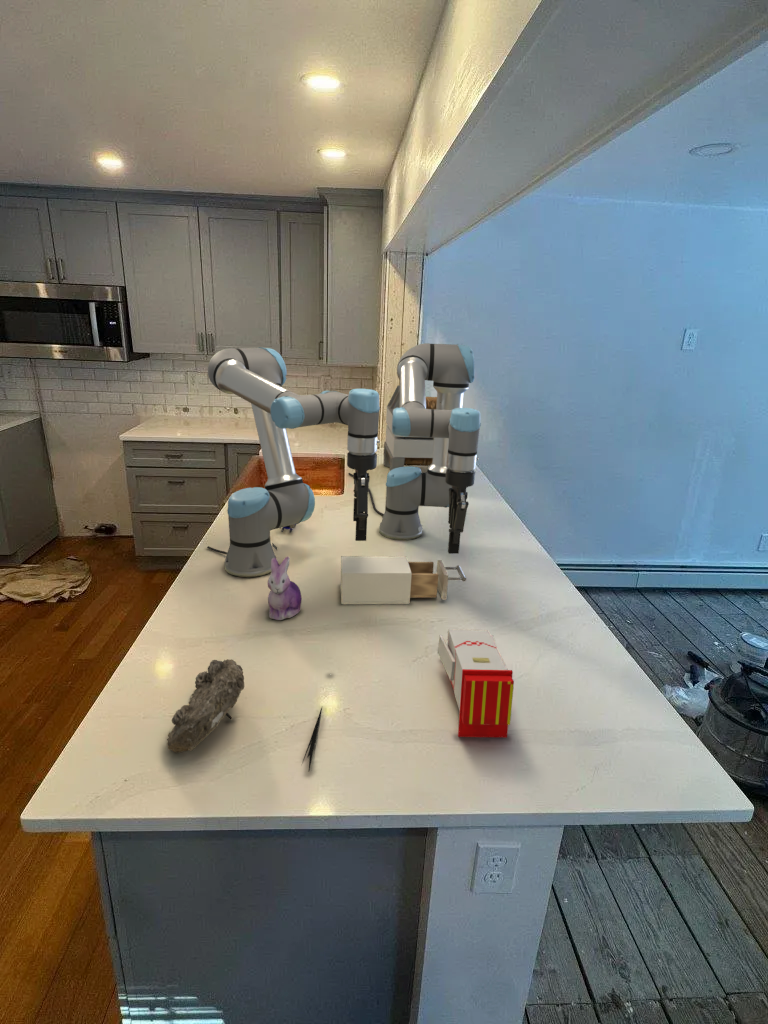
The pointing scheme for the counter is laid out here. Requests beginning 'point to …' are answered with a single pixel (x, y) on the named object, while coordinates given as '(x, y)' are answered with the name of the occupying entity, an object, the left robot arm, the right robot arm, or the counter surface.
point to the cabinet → (375, 580)
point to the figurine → (282, 592)
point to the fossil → (206, 705)
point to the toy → (478, 682)
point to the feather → (313, 740)
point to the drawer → (431, 579)
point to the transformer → (406, 440)
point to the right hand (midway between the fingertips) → (453, 552)
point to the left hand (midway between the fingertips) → (359, 530)
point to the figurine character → (288, 527)
